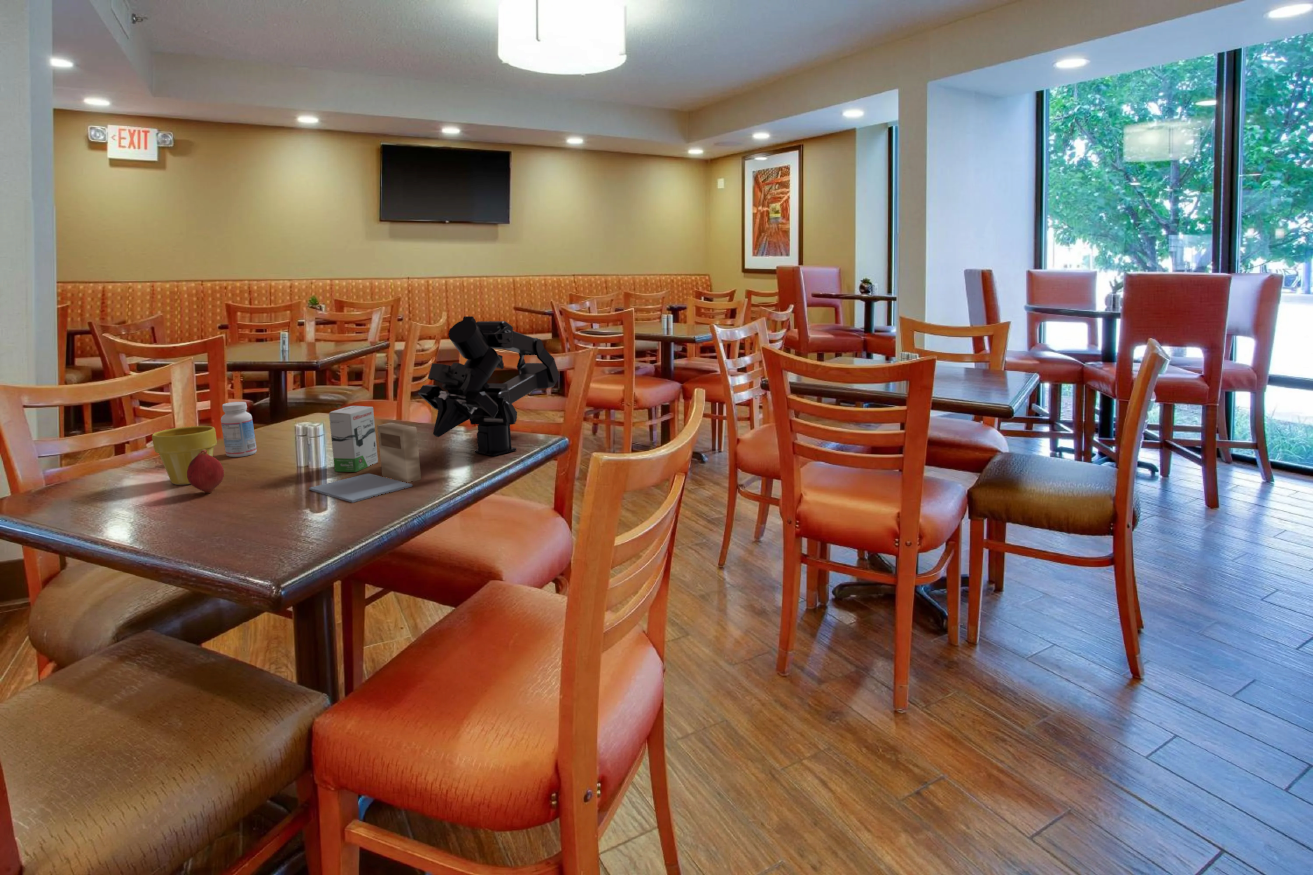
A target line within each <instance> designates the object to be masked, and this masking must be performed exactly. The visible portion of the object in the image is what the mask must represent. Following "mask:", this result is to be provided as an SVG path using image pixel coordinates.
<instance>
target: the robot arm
mask: <svg viewBox="0 0 1313 875" xmlns="http://www.w3.org/2000/svg"><path fill="white" fill-rule="evenodd" d="M448 337H449V338H448V339H449V340H450V342H451V343H452V345H453V346H454V347H455V348H456V350H457V351H458V352H459V354H460V355H461V357H462V358H463V359H465V360H466V361H465V362H464V364H463V363H460V362H452V364H451V365H449V364H445V363H444V364H443V363H435V362H434V363H433V362H432V363H431V365H430V369H429V373H428V376H427V379H428V380H430V381H436V382H438V383H441V384H442V385H441V387H440V386H439V385H436V384H434V385H433V384H424V385H422V386H421V387H420V389H419V390H418V392H417V394H418V395H419V396H420V397H421V398H422V399H423V400H424V401H425V402H426V403H427V404H429V405H430V406H431V407H432V409H434V410H436V411H437V414H436V418H435V424H434V428H433V431H432V432H433V433H432V435H434V437H436V438H439V437H441V436H443V435H445V434H446V433H448V432H450V431H451V430H452V429H455V428H456V427H458V426H460V425H461V424H463V423H465V422H467V421H469V423H470V425H477V432H476V440H477V442H476V443H477V449H474V453H476V454H482V455H487V456H493V457H496V456H499V455H504V454H507V453H511V452H515V451H517V447H514V446H512V436H511V435H512V434H511V425H515V424H516V423H517V420H518V411H517V410H516V408H515V407H514V405H513V404H514V403H516V402H517V401H519V400H520V399H522V398H524V397H525V396H527V395H528V394H530V393H532V392H533V391H535V390H540V389H542V390H543V389H551V388H554V387H555V385H556V384H557V382H558V381H559V370H558V367H557V364H556V361H555V358H554V356H553V355H551V353H550V352H549V351H547V349H546V348H545V347H544V343H543V341H542V339H540V338H538V337H532V336H529V335H526V334H524V333H520V332H517V331H515V330H514V327H513V326H512V324H510V323H509V322H507V321H505V320H487V321H485V320H484V321H483V320H480V321H476V318H474V316H472V315H468V316H463V317H462V320H460V321H458V322H456V323H455V324H454V325H453V326H452V327H450V328H449V331H448ZM497 349H500V350H501V349H503V350H507V351H511V352H514V353H517V354H518V356H519V359H518V362H517V365H516V369H517V372H518V374H517V375H516V376H514V377H512V378H511V379H509V380H507V381H506V382H503V383H490V382H489V383H488V381H489V379H490V378H491V376H492V374H493V373H494V371H495V370H496V369H500V370H503V369H504V367H505V365H504V361H503V355H500V354H498V352H497V351H496V350H497ZM525 356H536V358H537V359H538V360H539V361H540V362H526V361H525ZM442 388H443V389H444V390H446V391H444V390H443V389H442Z"/></svg>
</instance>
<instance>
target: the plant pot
mask: <svg viewBox="0 0 1313 875" xmlns="http://www.w3.org/2000/svg"><path fill="white" fill-rule="evenodd" d="M151 439H152V440H151V441H152V445H153V449H154V452H155V453H156V454H158V455H159V457H160V459H161V461H162V464H163V466H164V469H165V471H166V473H167V475H168V478H169V480H170V483H171V484H173V485H177V486H183V485H184V486H185V485H186V486H187V485H191V484H190V483H189V481H188V478H187V470H188V466H189V464H190V462H191V461H192V460H193V459H194V458H195V457H196V456H197V455H198V454H199V453H200V452H201V450H205V449H206V451H207V454H208V455H210V456H212V457H214V448H215V446H217V444H218V443H217V432H216V428H215V427H214V426H210V425H209V426H208V425H194V426H193V425H192V426H182V427H175V428H174V427H173V428H168V429H164V430H160V431H156V432H153V434H152V435H151Z"/></svg>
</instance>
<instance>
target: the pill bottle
mask: <svg viewBox="0 0 1313 875" xmlns="http://www.w3.org/2000/svg"><path fill="white" fill-rule="evenodd" d="M247 408H248V406H247V402H246V401H232V402H227V403H225V402H224V403H223V404H222V411H223V412H224V414H223V415H222V416H221V418H220V423H221V424H220V425H221V430H222V437H223V443H224V445H223V446H224V450H225V451H224V452H225V455H226V456H227V457H231V458H241V457H242V458H243V457H247V456H252V455H254V454H256V453H257V451H258V450H257V448H258V447H257V442H256V436H255V429H254V422H253V416H252V414H251V413H250V412H248V411H247V410H248V409H247Z"/></svg>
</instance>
